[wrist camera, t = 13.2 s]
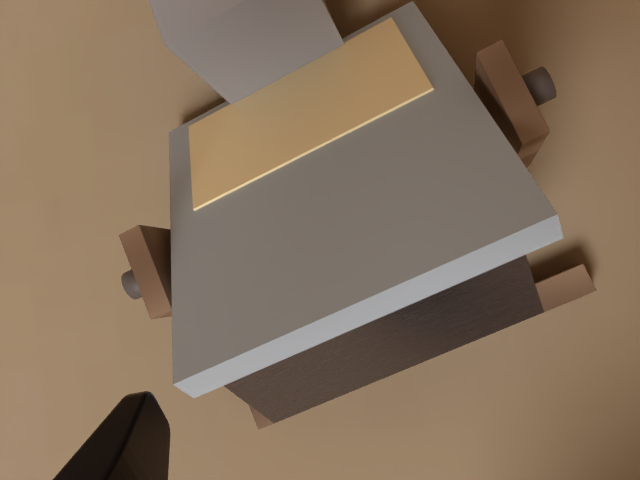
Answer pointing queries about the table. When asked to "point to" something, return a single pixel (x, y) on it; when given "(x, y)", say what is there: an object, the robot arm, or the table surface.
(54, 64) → the table surface
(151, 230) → the trapdoor frame
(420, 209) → the trapdoor
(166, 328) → the table surface
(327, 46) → the tall grey rectangular block
